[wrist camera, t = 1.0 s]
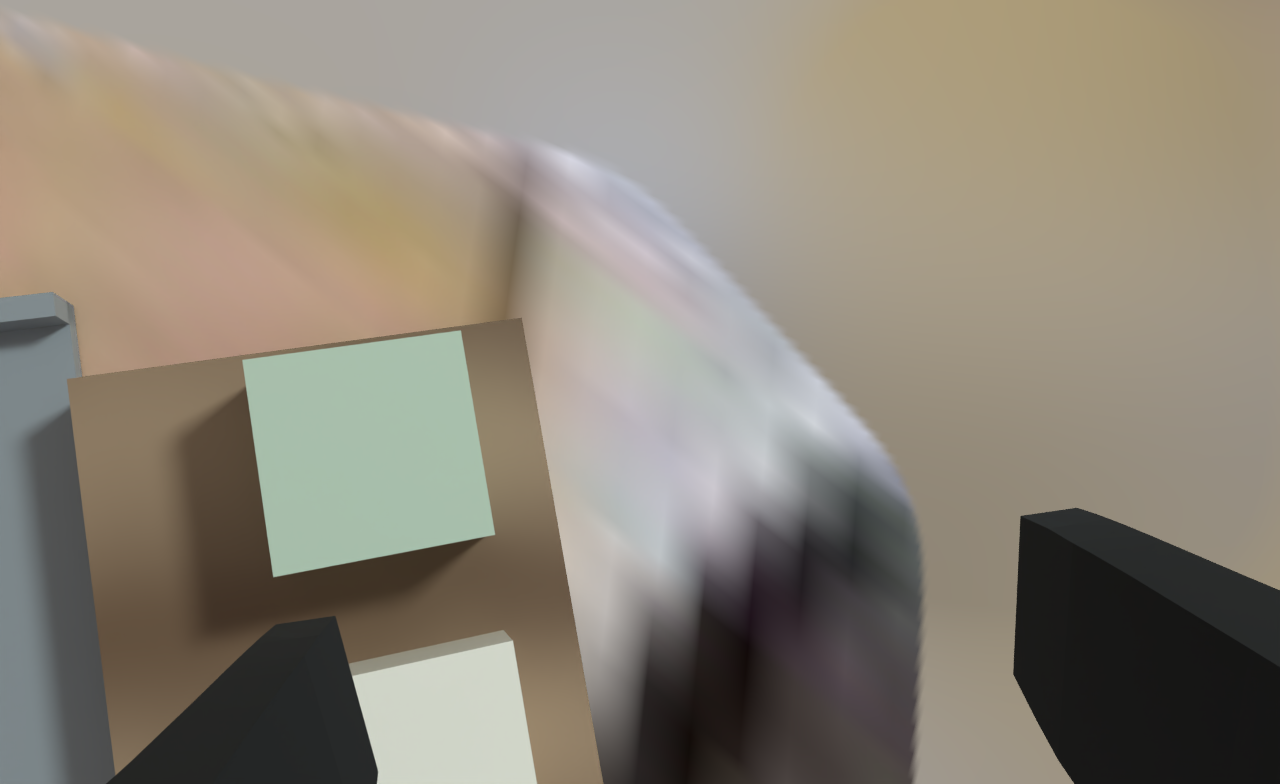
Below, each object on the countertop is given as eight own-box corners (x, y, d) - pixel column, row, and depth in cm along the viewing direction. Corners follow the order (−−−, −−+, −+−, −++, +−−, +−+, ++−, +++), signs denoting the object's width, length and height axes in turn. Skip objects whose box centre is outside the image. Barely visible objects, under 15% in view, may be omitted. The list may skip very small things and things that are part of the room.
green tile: (487, 534, 20) (495, 535, 18) (288, 572, 19) (273, 577, 17) (456, 350, 20) (460, 330, 18) (259, 377, 19) (242, 359, 17)
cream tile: (536, 827, 19) (549, 859, 17) (333, 882, 18) (322, 923, 16) (503, 630, 20) (513, 640, 18) (302, 673, 19) (289, 690, 17)
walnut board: (601, 850, 21) (620, 882, 19) (172, 972, 19) (146, 1021, 17) (512, 336, 23) (521, 317, 21) (99, 393, 20) (67, 378, 18)
